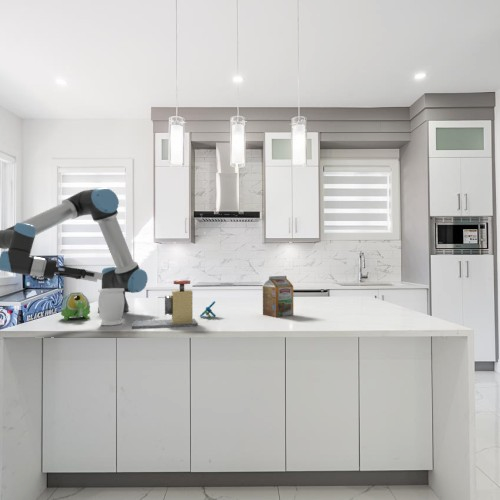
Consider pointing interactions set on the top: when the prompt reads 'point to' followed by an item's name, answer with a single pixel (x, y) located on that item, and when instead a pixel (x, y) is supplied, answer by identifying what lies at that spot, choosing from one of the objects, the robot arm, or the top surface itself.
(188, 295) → the valve fitting
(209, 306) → the teal toy telescope
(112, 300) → the jar
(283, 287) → the milk carton
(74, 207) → the robot arm
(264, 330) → the top surface
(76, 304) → the turtle holder
